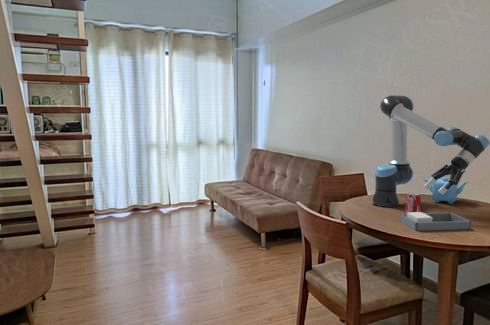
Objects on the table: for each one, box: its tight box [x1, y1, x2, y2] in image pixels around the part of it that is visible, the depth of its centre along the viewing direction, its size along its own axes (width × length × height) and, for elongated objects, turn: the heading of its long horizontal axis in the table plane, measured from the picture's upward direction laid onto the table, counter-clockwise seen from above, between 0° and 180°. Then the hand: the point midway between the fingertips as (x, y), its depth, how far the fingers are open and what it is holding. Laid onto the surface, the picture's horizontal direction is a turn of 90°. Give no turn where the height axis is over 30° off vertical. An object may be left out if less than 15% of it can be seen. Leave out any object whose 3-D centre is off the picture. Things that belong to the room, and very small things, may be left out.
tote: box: [399, 212, 472, 232], centre depth 166 cm, size 25×16×4 cm, turn 91°
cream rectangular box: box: [407, 212, 433, 223], centre depth 166 cm, size 7×10×5 cm
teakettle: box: [422, 177, 470, 205], centre depth 215 cm, size 19×19×15 cm
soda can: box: [405, 192, 422, 214], centre depth 185 cm, size 7×7×12 cm
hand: (432, 190), depth 184 cm, fingers open, 13 cm apart
